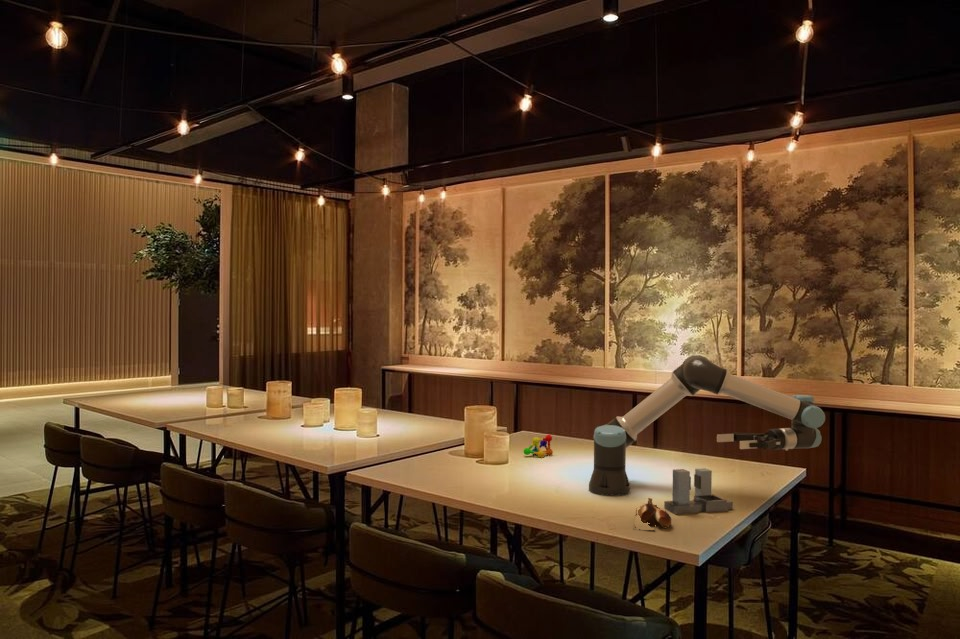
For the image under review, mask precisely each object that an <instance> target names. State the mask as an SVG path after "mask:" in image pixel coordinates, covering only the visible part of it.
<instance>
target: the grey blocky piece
mask: <svg viewBox="0 0 960 639" xmlns="http://www.w3.org/2000/svg"><path fill="white" fill-rule="evenodd" d="M691 480H692V478H691V472H690V470H687V469H684V468H679V469H678V468H676V469H675V468H674V469H672V500H665V501H664V505H663V506H664V507H663V509H665V511H668V512H669V513H671V514H674V515H676V516H678V515H679V516H680V515H694V514H698V513H706V514H708V513H709V514H710V513H720V512H728V511H731V510H730V509H734V507H733V505H734V504H733V501H732V500H729V499H726V498H723V497H720V496H718V495H716V494H711V495H698V496H695V495H693V499H692V500H690V499H691V498H690V492H691V491H690V490H691V489H692V488H691V487H692V484H691V483H692V481H691Z"/></svg>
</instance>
